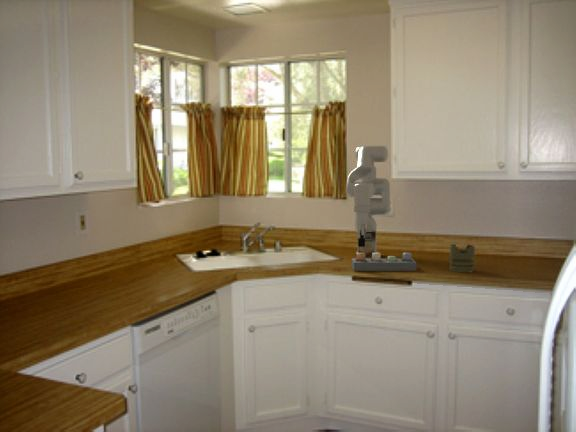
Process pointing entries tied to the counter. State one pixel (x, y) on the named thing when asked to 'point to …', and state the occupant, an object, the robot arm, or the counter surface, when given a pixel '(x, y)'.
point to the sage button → (391, 258)
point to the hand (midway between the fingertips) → (361, 246)
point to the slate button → (406, 256)
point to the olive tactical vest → (462, 258)
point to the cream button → (376, 256)
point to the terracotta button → (360, 256)
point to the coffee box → (368, 244)
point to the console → (384, 265)
